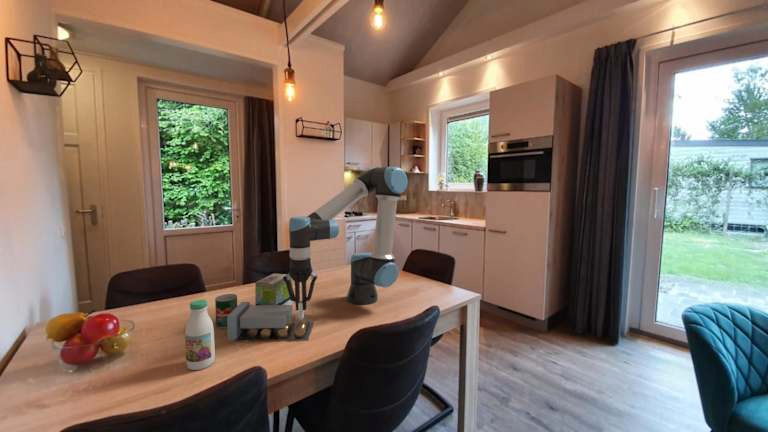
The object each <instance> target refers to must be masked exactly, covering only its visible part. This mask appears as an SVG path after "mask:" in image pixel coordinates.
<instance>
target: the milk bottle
mask: <svg viewBox="0 0 768 432" xmlns="http://www.w3.org/2000/svg"><path fill="white" fill-rule="evenodd" d="M189 308H190V309H189V310H190V316H189V319H188V321H187V323H186V326H185V335H184V336H185V361H186V362H185V363H186V368H187V369H188V370H189V371H200V370H204V369H207V368H209V367H210V366H212V365H213V364H214V362H215V361H216V354H215V353H216V351H215V350H216V349H215V347H216V344H215V330H214V323H213V320H212V318H211V317H210V315H209V313H208V300H206V299H197V300H193V301H191V302H190V303H189Z"/></svg>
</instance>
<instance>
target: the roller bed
mask: <svg viewBox="0 0 768 432" xmlns="http://www.w3.org/2000/svg"><path fill="white" fill-rule="evenodd" d="M295 320H296V318H295V316H294V314H292V316H291V318H290V320H289V322H288V324H287V326H286V327H285V328H261V329H260V330H259V332H258V333H257V335H256V336H254V337H252V336H250V335H249V334H248V331H249V329H250V328H245V330H244V331H243V332H242V333H241V334H240V336H239V337H238V338H237V339H235V340H233V341H234V342H258V341H259V342H264V341H266V342H270V341H273V342H274V341H276V342H277V341H309V339H310V336H311V333H312V329H313V328H314V325H315V321H310V320H311V317H310V315H309V314H305V313H304V317H303V319H300V320H299V321H295Z"/></svg>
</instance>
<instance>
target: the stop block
mask: <svg viewBox="0 0 768 432" xmlns="http://www.w3.org/2000/svg"><path fill="white" fill-rule="evenodd" d="M250 306H251V305H250V301H241V302H240V303H239V304H237V307H236V308H235V309H234V310H233V311H232V312H231V313H230V314H229V315H228V316H227V328H226V329H227V341H229V342H231V341H234V340H235V339H237V338H238V337H239V336H240V334H241V333H242V332H243V331H244V330H245V328H240V317H241V316H242V315H243V314H244V313H245V312H246V311H247V309H248V308H249V307H250Z"/></svg>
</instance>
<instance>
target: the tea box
mask: <svg viewBox="0 0 768 432" xmlns="http://www.w3.org/2000/svg"><path fill="white" fill-rule="evenodd" d="M285 275H287V273H286V274H284V273H272V274H270V275H268V276H266V277H264V278H261V279H260V280H257V281H255V283H254V284H255V293H254V294H255V298H254V299H255V301H254V302H255V303H254V305H292V306H293V301H291V300H290V296H289V293H288V289H287V286H286V282H285V281H284V280H283V277H284V276H285ZM290 281H291V284H292V288H293V282H294V280H293V279H292V278H291V276H290Z"/></svg>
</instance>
